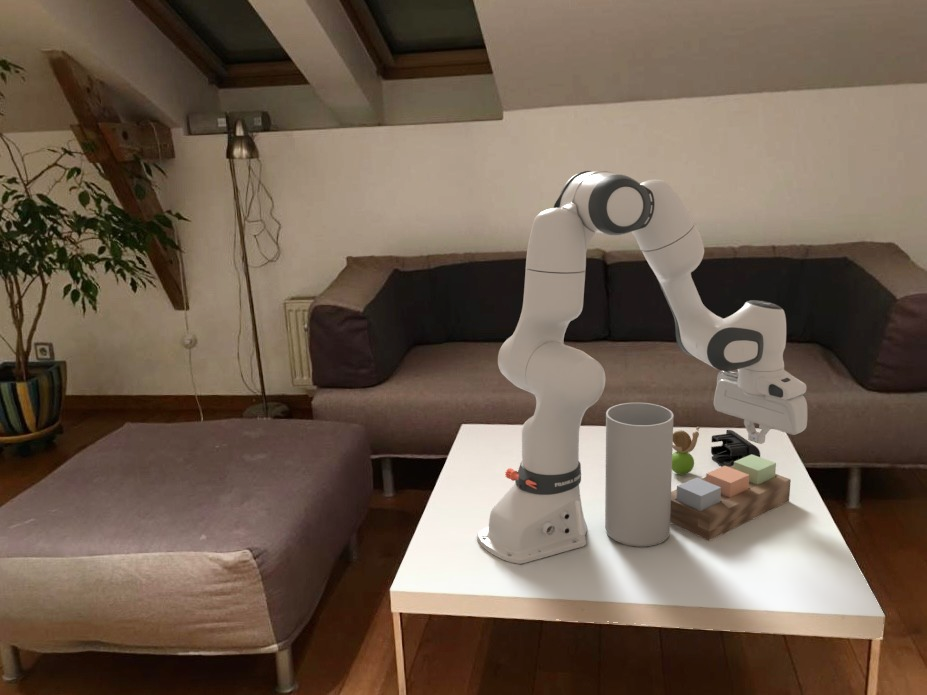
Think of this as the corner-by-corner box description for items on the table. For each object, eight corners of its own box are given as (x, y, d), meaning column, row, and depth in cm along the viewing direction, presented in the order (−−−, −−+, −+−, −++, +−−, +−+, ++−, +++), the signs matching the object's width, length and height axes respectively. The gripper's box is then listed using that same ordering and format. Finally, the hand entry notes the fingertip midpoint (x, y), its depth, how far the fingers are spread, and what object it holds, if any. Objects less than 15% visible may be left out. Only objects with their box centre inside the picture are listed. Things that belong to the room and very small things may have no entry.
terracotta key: (729, 501, 167) (730, 483, 166) (705, 491, 171) (706, 473, 170) (748, 492, 170) (749, 474, 169) (724, 483, 175) (724, 465, 174)
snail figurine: (692, 481, 185) (694, 431, 182) (665, 475, 189) (666, 425, 186) (701, 472, 189) (703, 423, 186) (674, 466, 193) (676, 418, 190)
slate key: (700, 514, 162) (701, 496, 161) (676, 504, 166) (676, 485, 165) (720, 505, 165) (721, 487, 164) (695, 495, 170) (696, 477, 169)
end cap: (759, 471, 189) (761, 443, 187) (731, 475, 188) (732, 447, 186) (736, 454, 198) (738, 428, 197) (709, 458, 197) (710, 431, 195)
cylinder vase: (624, 511, 173) (625, 398, 166) (680, 528, 165) (684, 410, 158) (593, 536, 163) (593, 417, 156) (651, 555, 156) (654, 430, 149)
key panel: (708, 540, 160) (709, 517, 159) (660, 518, 169) (661, 495, 168) (789, 501, 174) (790, 479, 173) (740, 482, 184) (742, 461, 182)
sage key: (757, 488, 172) (758, 470, 171) (733, 479, 176) (733, 461, 175) (774, 480, 175) (776, 462, 174) (750, 471, 180) (751, 454, 179)
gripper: (708, 370, 176) (706, 431, 180) (795, 394, 160) (790, 460, 164) (727, 364, 179) (724, 424, 183) (814, 387, 163) (809, 452, 167)
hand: (756, 441), depth 173 cm, fingers closed
